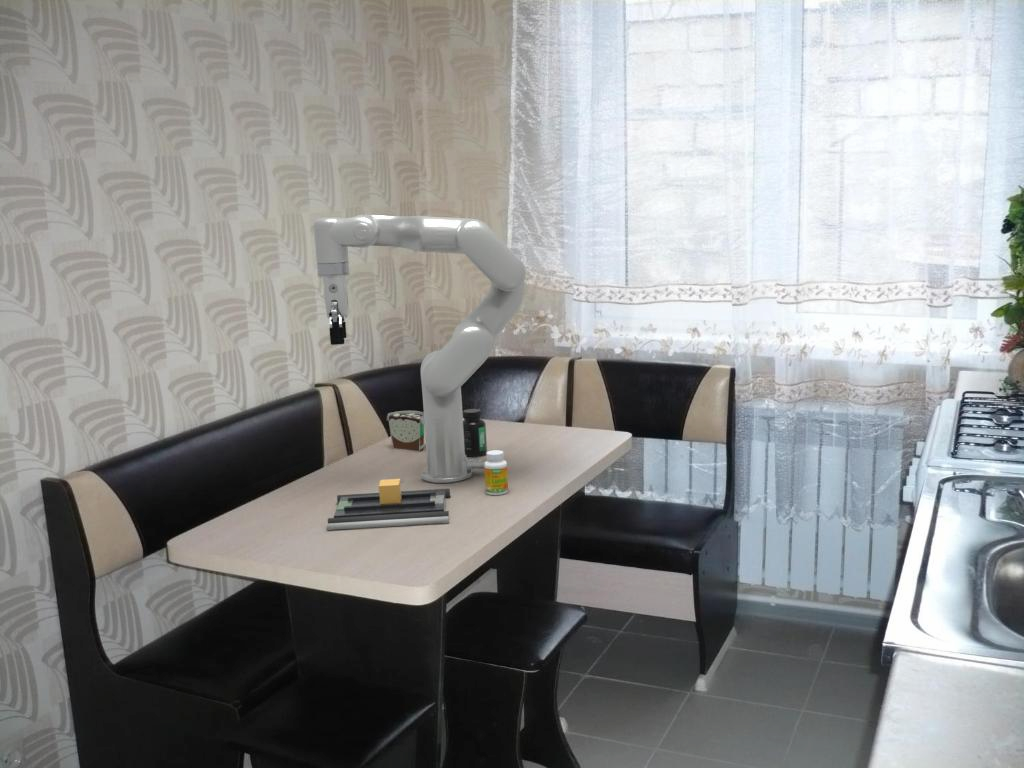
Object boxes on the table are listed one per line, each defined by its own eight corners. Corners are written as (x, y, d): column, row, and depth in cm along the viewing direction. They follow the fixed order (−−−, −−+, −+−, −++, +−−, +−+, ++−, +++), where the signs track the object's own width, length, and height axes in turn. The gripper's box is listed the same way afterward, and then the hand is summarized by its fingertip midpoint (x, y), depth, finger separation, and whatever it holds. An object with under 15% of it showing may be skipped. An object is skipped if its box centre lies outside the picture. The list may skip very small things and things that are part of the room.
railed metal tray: (445, 499, 245) (444, 487, 244) (444, 518, 231) (443, 505, 231) (341, 505, 244) (340, 493, 244) (334, 524, 230) (333, 512, 230)
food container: (437, 447, 293) (435, 412, 291) (424, 452, 288) (421, 416, 286) (402, 443, 300) (400, 408, 298) (388, 448, 294) (386, 413, 293)
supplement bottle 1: (489, 456, 281) (487, 412, 279) (464, 458, 279) (461, 414, 277) (484, 450, 288) (481, 406, 285) (459, 452, 286) (456, 409, 284)
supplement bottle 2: (491, 497, 245) (489, 456, 243) (481, 491, 249) (479, 451, 248) (512, 493, 247) (510, 452, 245) (502, 487, 252) (499, 448, 250)
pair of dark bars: (450, 495, 247) (449, 487, 247) (448, 523, 227) (448, 514, 227) (338, 502, 247) (338, 494, 246) (327, 531, 227) (326, 522, 226)
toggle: (401, 497, 240) (400, 478, 239) (400, 504, 235) (398, 484, 234) (382, 498, 240) (380, 479, 239) (380, 505, 235) (378, 486, 234)
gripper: (347, 272, 243) (352, 345, 246) (350, 266, 260) (355, 335, 263) (314, 274, 242) (320, 347, 246) (320, 268, 259) (325, 337, 263)
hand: (338, 341), depth 255 cm, fingers open, 9 cm apart
